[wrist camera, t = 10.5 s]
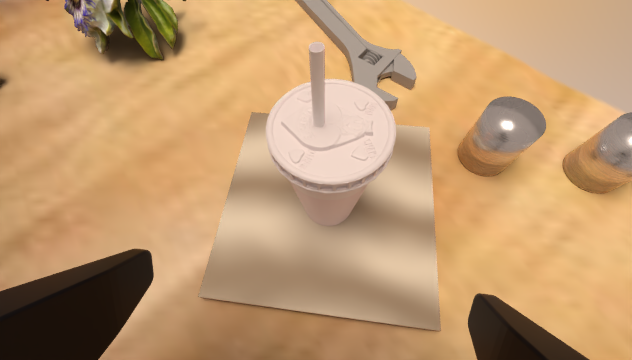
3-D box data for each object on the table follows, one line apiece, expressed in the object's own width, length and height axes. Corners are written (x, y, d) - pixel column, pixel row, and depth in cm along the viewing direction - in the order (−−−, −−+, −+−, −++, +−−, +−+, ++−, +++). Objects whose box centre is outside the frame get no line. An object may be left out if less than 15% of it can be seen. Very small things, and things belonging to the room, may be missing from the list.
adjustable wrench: (276, -17, 39) (274, -31, 37) (320, -29, 40) (320, -44, 38) (369, 118, 28) (371, 105, 26) (426, 96, 29) (432, 82, 27)
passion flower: (134, 81, 38) (31, -9, 31) (195, 26, 39) (110, -72, 33) (136, 85, 29) (-9, -42, 22) (215, 13, 30) (103, -126, 23)
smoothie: (292, 164, 24) (259, -9, 12) (370, 169, 24) (419, -5, 11) (281, 240, 21) (221, 114, 9) (369, 247, 21) (435, 126, 9)
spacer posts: (724, 306, 19) (843, 299, 15) (449, 160, 25) (476, 123, 21) (734, 217, 22) (838, 189, 18) (484, 104, 28) (515, 60, 23)
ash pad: (436, 330, 19) (440, 331, 18) (202, 297, 21) (198, 296, 20) (426, 132, 26) (429, 127, 26) (253, 117, 28) (251, 112, 27)
